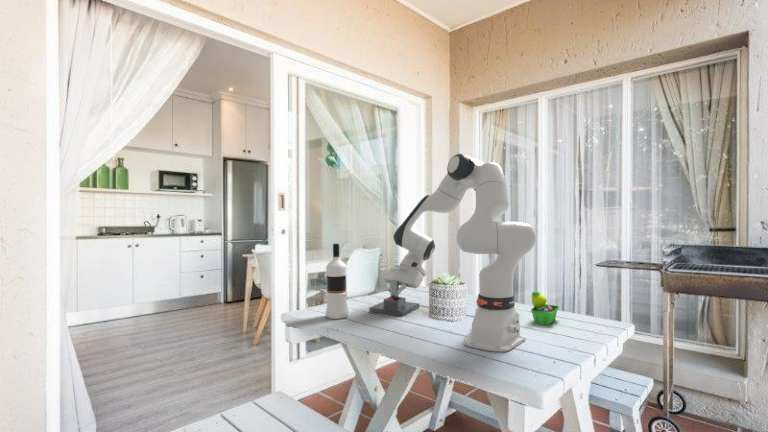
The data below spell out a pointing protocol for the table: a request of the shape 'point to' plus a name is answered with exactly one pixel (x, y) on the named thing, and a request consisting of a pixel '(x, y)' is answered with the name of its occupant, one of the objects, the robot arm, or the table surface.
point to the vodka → (336, 287)
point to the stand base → (394, 307)
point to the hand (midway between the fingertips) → (393, 292)
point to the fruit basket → (542, 309)
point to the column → (394, 289)
